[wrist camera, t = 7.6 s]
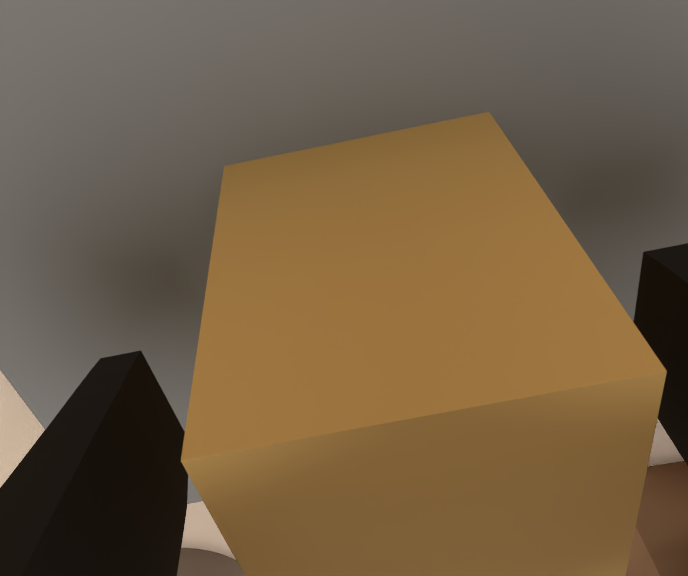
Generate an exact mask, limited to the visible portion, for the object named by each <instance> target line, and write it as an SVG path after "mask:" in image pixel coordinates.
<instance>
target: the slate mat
mask: <svg viewBox="0 0 688 576" xmlns="http://www.w3.org/2000/svg"><path fill="white" fill-rule="evenodd" d="M485 112H490V114H491V115H492V117H493V118H494V120H495V121H496V123H497V124H498V125H499V127H500V128H501V130H502V131H503V133H504V134H505V136H506V137H507V139H508V140H509V142H510V143H511V144H512V146H513V147H514V149H515V150H516V152H517V153H518V155H519V156H520V158H521V159H522V161H523V162H524V163H525V165H526V166H527V168H528V169H529V171H530V172H531V174H532V175H533V177H534V178H535V179H536V181H537V182H538V184H539V185H540V187H541V188H542V190H543V191H544V193H545V194H546V196H547V197H548V198H549V200H550V201H551V203H552V204H553V206H554V207H555V209H556V210H557V212H558V213H559V215H560V216H561V217H562V219H563V220H564V222H565V223H566V225H567V226H568V228H569V229H570V231H571V232H572V233H573V235H574V236H575V238H576V239H577V241H578V242H579V244H580V245H581V247H582V248H583V250H584V251H585V252H586V254H587V255H588V257H589V258H590V260H591V261H592V263H593V264H594V266H595V267H596V269H597V270H598V271H599V273H600V274H601V276H602V277H603V279H604V280H605V282H606V283H607V285H608V286H609V287H610V289H611V290H612V292H613V293H614V295H615V296H616V298H617V299H618V301H619V302H620V304H621V305H622V306H623V308H624V309H625V311H626V312H627V314H628V315H629V317H630V318H631V320H632V321H633V322H634V315H635V307H636V300H637V293H638V286H639V279H640V272H641V264H642V257H643V252H645V251H650V250H655V249H660V248H666V247H671V246H676V245H681V244H686V243H688V0H0V370H1V371H2V373H3V374H4V375H5V377H6V378H7V379H8V381H9V382H10V383H11V385H12V386H13V387H14V389H15V390H16V391H17V393H18V394H19V395H20V397H21V398H22V399H23V401H24V402H25V403H26V405H27V406H28V407H29V409H30V410H31V411H32V413H33V414H34V415H35V417H36V418H37V419H38V421H39V422H40V423H41V425H42V426H43V427H44V429H45V430H46V428H47V427H48V426H49V424H50V423H51V422H52V420H53V419H54V418H55V416H56V415H57V414H58V412H59V411H60V410H61V408H62V407H63V406H64V404H65V403H66V402H67V400H68V399H69V398H70V396H71V395H72V394H73V393H74V391H75V390H76V389H77V387H78V386H79V385H80V383H81V382H82V381H83V379H84V378H85V377H86V376H87V374H88V373H89V372H90V370H91V369H92V368H93V367H94V366H95V364H96V363H97V362H98V361H99V359H100V358H105V357H110V356H115V355H120V354H125V353H130V352H135V351H140V350H141V351H142V353H143V355H144V357H145V359H146V361H147V362H148V364H149V366H150V368H151V370H152V372H153V374H154V376H155V377H156V379H157V381H158V383H159V385H160V387H161V389H162V390H163V392H164V394H165V396H166V398H167V400H168V402H169V404H170V405H171V407H172V409H173V411H174V413H175V415H176V417H177V418H178V420H179V422H180V424H181V426H182V428H183V430H184V431H185V428H186V421H187V415H188V408H189V401H190V394H191V387H192V381H193V374H194V367H195V360H196V353H197V347H198V340H199V333H200V326H201V319H202V313H203V306H204V299H205V292H206V285H207V279H208V272H209V265H210V258H211V252H212V245H213V238H214V231H215V224H216V218H217V211H218V204H219V197H220V190H221V184H222V177H223V170H224V166H227V165H232V164H236V163H241V162H246V161H251V160H256V159H261V158H266V157H271V156H276V155H280V154H285V153H290V152H295V151H300V150H305V149H310V148H315V147H319V146H324V145H329V144H334V143H339V142H344V141H349V140H354V139H358V138H363V137H368V136H373V135H378V134H383V133H388V132H393V131H397V130H402V129H407V128H412V127H417V126H422V125H427V124H432V123H437V122H441V121H446V120H451V119H456V118H461V117H466V116H471V115H476V114H480V113H485ZM200 501H203V500H202V498H201V496H200V494H199V493H198V491H197V489H196V487H195V486H194V484H193V482H192V480H191V478H190V477H189V475H188V497H187V504H189V503H194V502H200Z"/></svg>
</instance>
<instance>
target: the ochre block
mask: <svg viewBox="0 0 688 576" xmlns="http://www.w3.org/2000/svg"><path fill="white" fill-rule="evenodd" d="M666 373H667V371H666V369H665V368H664V366H663V365H662V363H661V362H660V360H659V359H658V358H657V356H656V355H655V353H654V352H653V350H652V349H651V347H650V346H649V344H648V343H647V341H646V340H645V339H644V337H643V336H642V334H641V333H640V331H639V330H638V328H637V327H636V325H635V324H634V323H633V321H632V320H631V318H630V317H629V315H628V314H627V312H626V311H625V309H624V308H623V306H622V305H621V304H620V302H619V301H618V299H617V298H616V296H615V295H614V293H613V292H612V290H611V289H610V287H609V286H608V285H607V283H606V282H605V280H604V279H603V277H602V276H601V274H600V273H599V271H598V270H597V269H596V267H595V266H594V264H593V263H592V261H591V260H590V258H589V257H588V255H587V254H586V252H585V251H584V250H583V248H582V247H581V245H580V244H579V242H578V241H577V239H576V238H575V236H574V235H573V233H572V232H571V231H570V229H569V228H568V226H567V225H566V223H565V222H564V220H563V219H562V217H561V216H560V215H559V213H558V212H557V210H556V209H555V207H554V206H553V204H552V203H551V201H550V200H549V198H548V197H547V196H546V194H545V193H544V191H543V190H542V188H541V187H540V185H539V184H538V182H537V181H536V179H535V178H534V177H533V175H532V174H531V172H530V171H529V169H528V168H527V166H526V165H525V163H524V162H523V161H522V159H521V158H520V156H519V155H518V153H517V152H516V150H515V149H514V147H513V146H512V144H511V143H510V142H509V140H508V139H507V137H506V136H505V134H504V133H503V131H502V130H501V128H500V127H499V125H498V124H497V123H496V121H495V120H494V118H493V117H492V115H491V114H490V112H485V113H480V114H476V115H471V116H466V117H461V118H456V119H451V120H446V121H441V122H437V123H432V124H427V125H422V126H417V127H412V128H407V129H402V130H397V131H393V132H388V133H383V134H378V135H373V136H368V137H363V138H358V139H354V140H349V141H344V142H339V143H334V144H329V145H324V146H319V147H315V148H310V149H305V150H300V151H295V152H290V153H285V154H280V155H276V156H271V157H266V158H261V159H256V160H251V161H246V162H241V163H236V164H232V165H227V166H224V170H223V177H222V184H221V190H220V197H219V204H218V211H217V218H216V224H215V231H214V238H213V245H212V252H211V258H210V265H209V272H208V279H207V285H206V292H205V299H204V306H203V313H202V319H201V326H200V333H199V340H198V347H197V353H196V360H195V367H194V374H193V381H192V387H191V394H190V401H189V408H188V415H187V421H186V428H185V435H184V442H183V448H182V455H181V462H182V464H183V466H184V468H185V470H186V471H187V473H188V475H189V477H190V478H191V480H192V482H193V484H194V486H195V487H196V489H197V491H198V493H199V494H200V496H201V498H202V500H203V502H204V503H205V505H206V507H207V509H208V511H209V512H210V514H211V516H212V518H213V519H214V521H215V523H216V525H217V527H218V528H219V530H220V532H221V534H222V535H223V537H224V539H225V541H226V543H227V544H228V546H229V548H230V550H231V552H232V553H233V555H234V557H235V559H236V560H237V562H238V564H239V566H240V568H241V569H242V571H243V573H244V575H245V576H626V571H627V566H628V561H629V556H630V551H631V546H632V542H633V537H634V532H635V527H636V522H637V517H638V512H639V507H640V502H641V497H642V492H643V487H644V482H645V477H646V472H647V467H648V462H649V457H650V452H651V447H652V443H653V438H654V433H655V428H656V423H657V418H658V413H659V408H660V403H661V398H662V393H663V388H664V383H665V378H666Z"/></svg>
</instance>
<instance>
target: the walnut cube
mask: <svg viewBox="0 0 688 576" xmlns="http://www.w3.org/2000/svg"><path fill="white" fill-rule="evenodd" d="M626 576H688V465H687V464H686V462H685V461H682V462H676V463H669V464H663V465H657V466H650V467H647V472H646V477H645V482H644V487H643V492H642V497H641V502H640V507H639V512H638V517H637V522H636V527H635V532H634V537H633V542H632V546H631V551H630V556H629V561H628V566H627V571H626Z"/></svg>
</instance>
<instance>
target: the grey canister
mask: <svg viewBox="0 0 688 576" xmlns="http://www.w3.org/2000/svg"><path fill="white" fill-rule="evenodd" d="M177 576H245V575H244V573H243V571H242V569H241V568H240V566H239V564H238V562H237V561H236V560H235V559H232V558H230V557H228V556H225V555H222V554H219V553H215V552H211V551H206V550H200V549H190V548H181V551H180V558H179V564H178V571H177Z"/></svg>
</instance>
